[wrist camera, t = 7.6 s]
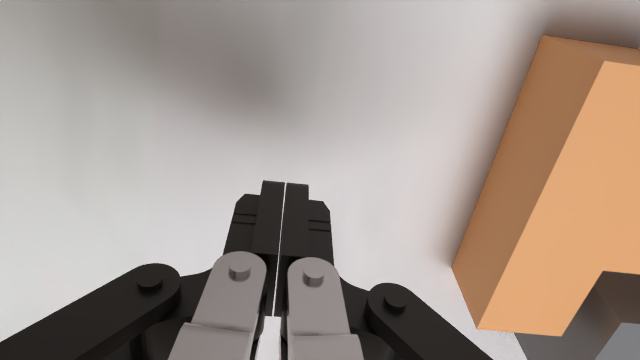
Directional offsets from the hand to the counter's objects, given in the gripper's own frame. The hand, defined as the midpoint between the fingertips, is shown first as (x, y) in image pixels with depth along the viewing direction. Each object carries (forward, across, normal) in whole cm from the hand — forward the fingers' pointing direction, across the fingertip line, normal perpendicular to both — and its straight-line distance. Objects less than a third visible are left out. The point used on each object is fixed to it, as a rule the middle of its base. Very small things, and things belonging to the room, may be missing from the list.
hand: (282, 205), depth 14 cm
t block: (+5, -15, 0) cm, 16 cm away
